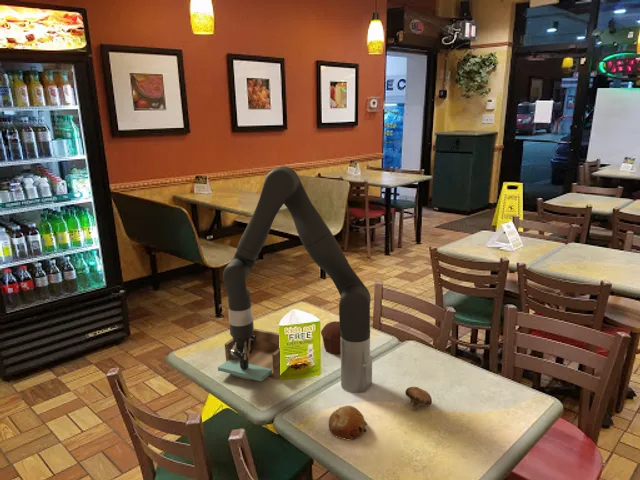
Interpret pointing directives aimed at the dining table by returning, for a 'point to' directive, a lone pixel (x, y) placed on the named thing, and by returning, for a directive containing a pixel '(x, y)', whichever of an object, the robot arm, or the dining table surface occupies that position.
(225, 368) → the panel
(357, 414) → the bread roll
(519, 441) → the dining table surface
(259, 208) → the robot arm
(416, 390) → the mushroom
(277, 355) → the box
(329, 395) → the dining table surface
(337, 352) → the muffin
